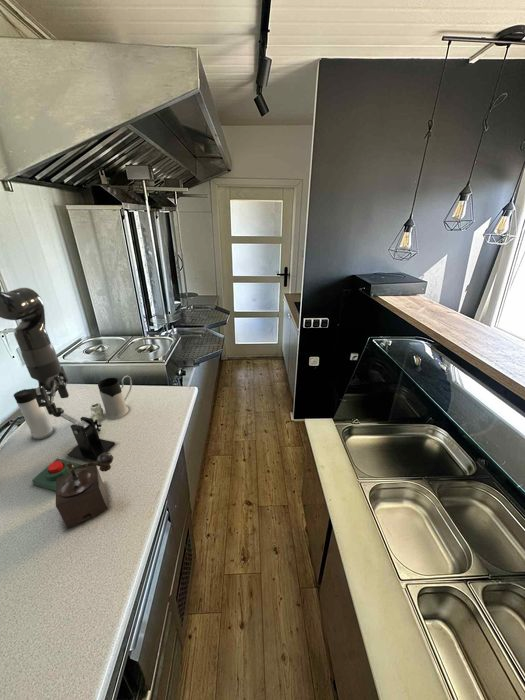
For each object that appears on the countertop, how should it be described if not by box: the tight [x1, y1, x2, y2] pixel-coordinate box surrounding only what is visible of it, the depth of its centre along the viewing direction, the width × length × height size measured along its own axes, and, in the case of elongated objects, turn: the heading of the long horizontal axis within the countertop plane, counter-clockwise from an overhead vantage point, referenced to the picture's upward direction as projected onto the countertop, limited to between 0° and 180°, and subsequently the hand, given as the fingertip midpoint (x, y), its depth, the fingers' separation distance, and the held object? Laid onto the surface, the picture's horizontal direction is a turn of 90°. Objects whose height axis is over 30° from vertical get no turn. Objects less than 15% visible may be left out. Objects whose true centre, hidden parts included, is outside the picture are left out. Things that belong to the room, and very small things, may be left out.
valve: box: [89, 402, 105, 432], centre depth 113 cm, size 7×7×12 cm
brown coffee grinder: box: [55, 452, 114, 529], centre depth 80 cm, size 16×11×18 cm
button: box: [47, 460, 63, 474], centre depth 90 cm, size 4×4×2 cm
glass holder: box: [97, 375, 133, 420], centre depth 120 cm, size 9×14×15 cm, turn 151°
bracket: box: [67, 416, 116, 463], centre depth 99 cm, size 12×9×13 cm
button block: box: [31, 457, 82, 492], centre depth 91 cm, size 11×9×4 cm
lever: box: [52, 407, 89, 431], centre depth 97 cm, size 13×3×3 cm, turn 76°
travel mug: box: [13, 387, 54, 440], centre depth 105 cm, size 6×7×20 cm
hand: (59, 405), depth 89 cm, fingers open, 8 cm apart
